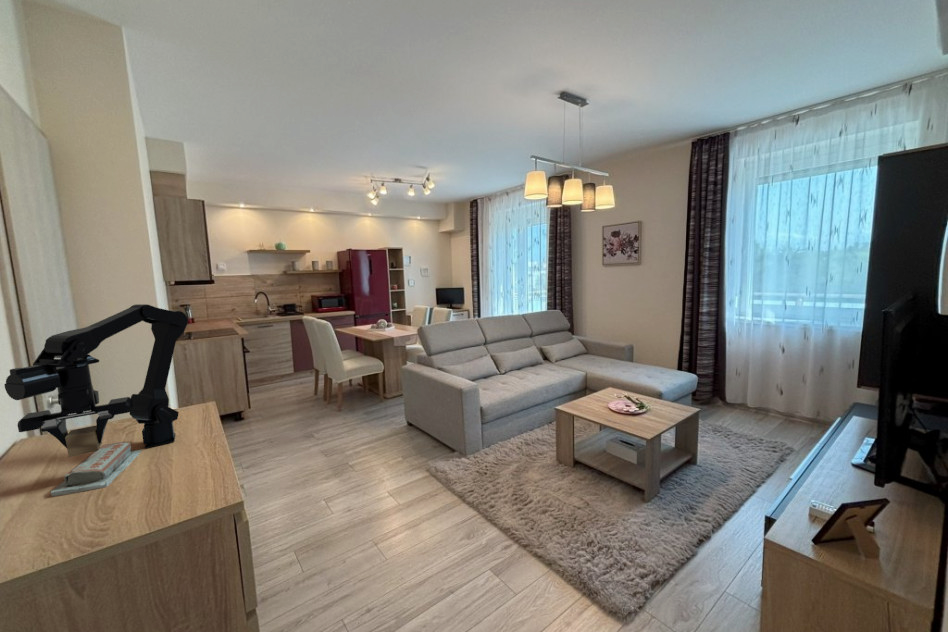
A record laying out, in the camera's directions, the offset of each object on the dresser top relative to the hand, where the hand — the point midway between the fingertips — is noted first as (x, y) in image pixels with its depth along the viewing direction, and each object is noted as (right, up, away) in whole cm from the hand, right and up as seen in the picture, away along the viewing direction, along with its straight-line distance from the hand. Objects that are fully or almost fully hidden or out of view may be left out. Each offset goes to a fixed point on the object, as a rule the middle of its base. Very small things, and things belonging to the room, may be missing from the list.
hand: (85, 446), depth 93 cm
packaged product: (+2, -8, +2) cm, 8 cm away
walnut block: (0, -1, 0) cm, 1 cm away
